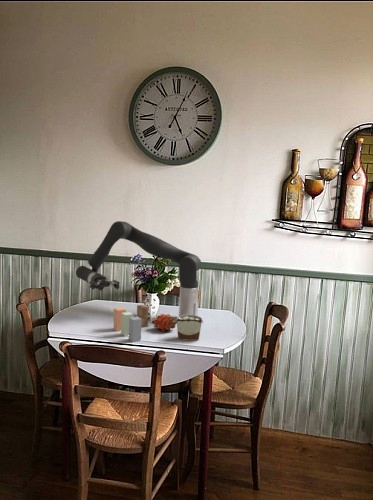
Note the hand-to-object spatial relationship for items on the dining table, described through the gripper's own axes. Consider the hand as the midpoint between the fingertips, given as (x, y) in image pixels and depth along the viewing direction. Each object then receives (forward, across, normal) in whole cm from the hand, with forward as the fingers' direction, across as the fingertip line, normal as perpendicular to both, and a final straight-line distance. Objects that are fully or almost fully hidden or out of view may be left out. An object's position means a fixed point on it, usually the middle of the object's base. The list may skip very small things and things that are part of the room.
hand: (110, 287), depth 224 cm
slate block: (+27, 0, +17) cm, 32 cm away
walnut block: (+11, +12, +17) cm, 24 cm away
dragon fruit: (+21, +19, +17) cm, 33 cm away
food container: (+35, +24, +17) cm, 45 cm away
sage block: (+20, 0, +17) cm, 26 cm away
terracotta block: (+11, 0, +17) cm, 21 cm away
